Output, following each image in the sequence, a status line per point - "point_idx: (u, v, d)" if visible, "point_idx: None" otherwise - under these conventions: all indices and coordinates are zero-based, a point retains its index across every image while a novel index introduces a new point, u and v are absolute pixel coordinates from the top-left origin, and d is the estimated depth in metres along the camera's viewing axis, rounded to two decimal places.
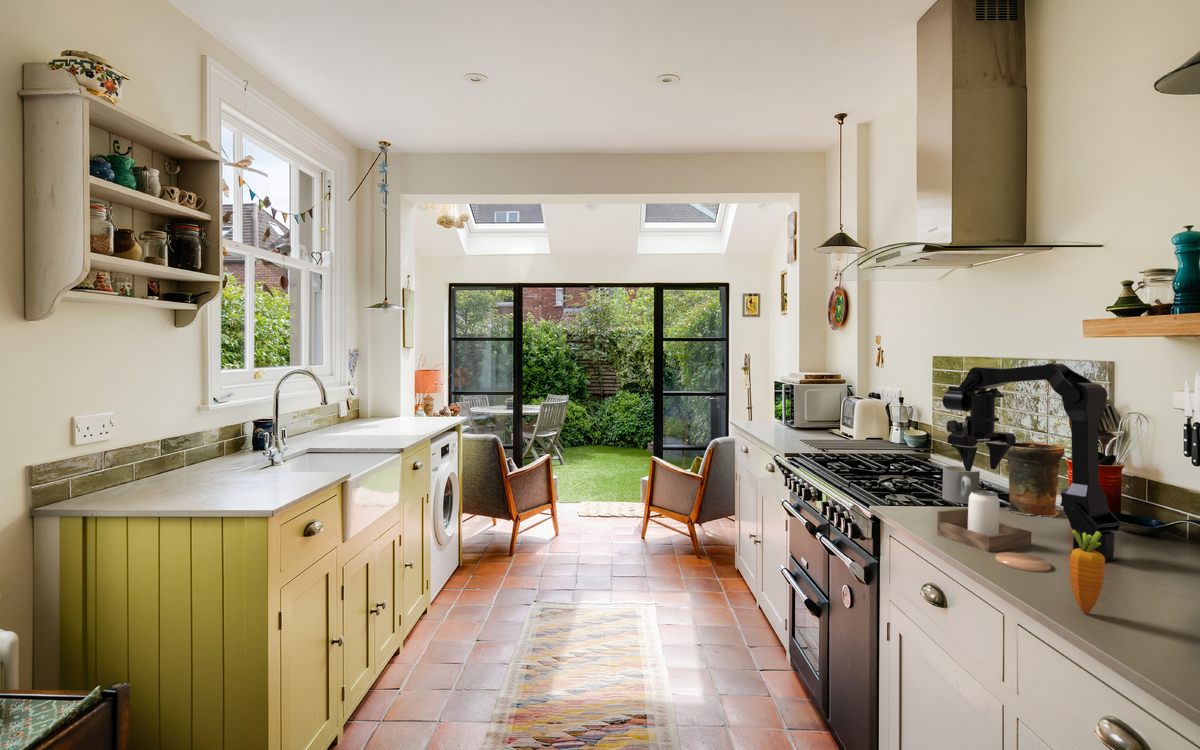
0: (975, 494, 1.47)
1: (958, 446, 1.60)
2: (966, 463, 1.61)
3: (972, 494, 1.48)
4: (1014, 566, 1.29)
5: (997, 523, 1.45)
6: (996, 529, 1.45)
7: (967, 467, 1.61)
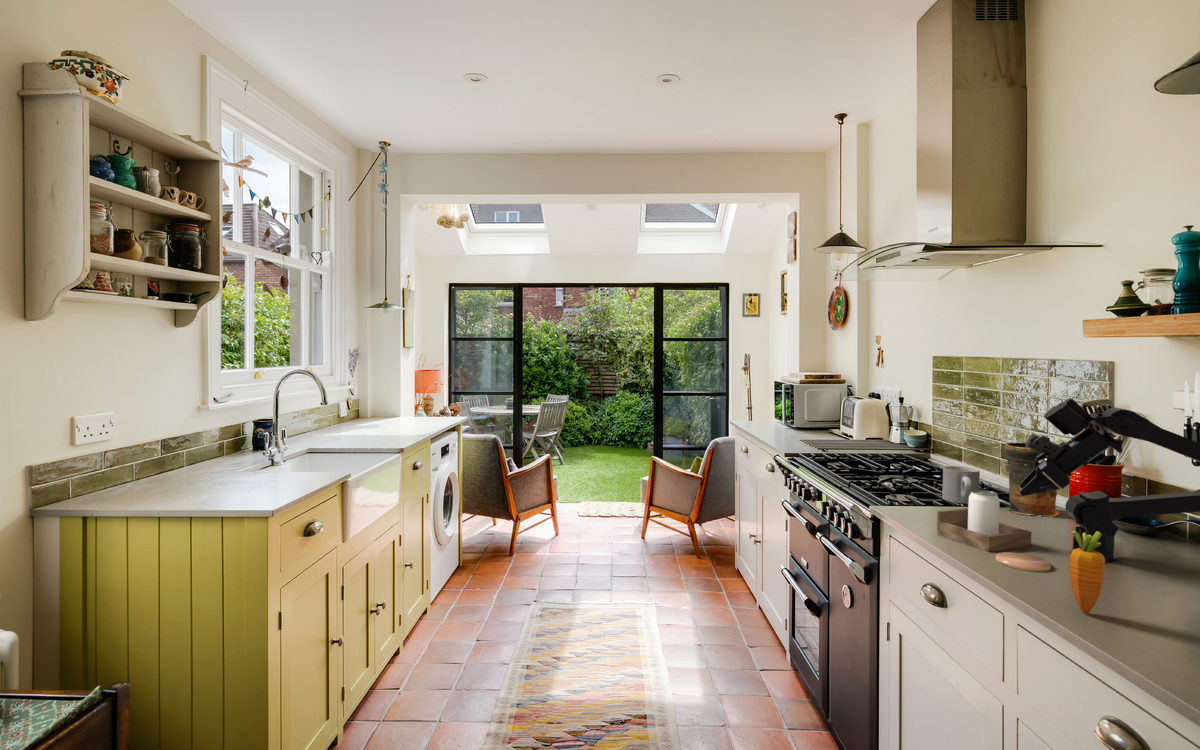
0: (975, 494, 1.47)
1: (1046, 477, 1.34)
2: (1029, 488, 1.38)
3: (972, 494, 1.48)
4: (1014, 566, 1.29)
5: (997, 523, 1.45)
6: (996, 529, 1.45)
7: (1025, 492, 1.39)
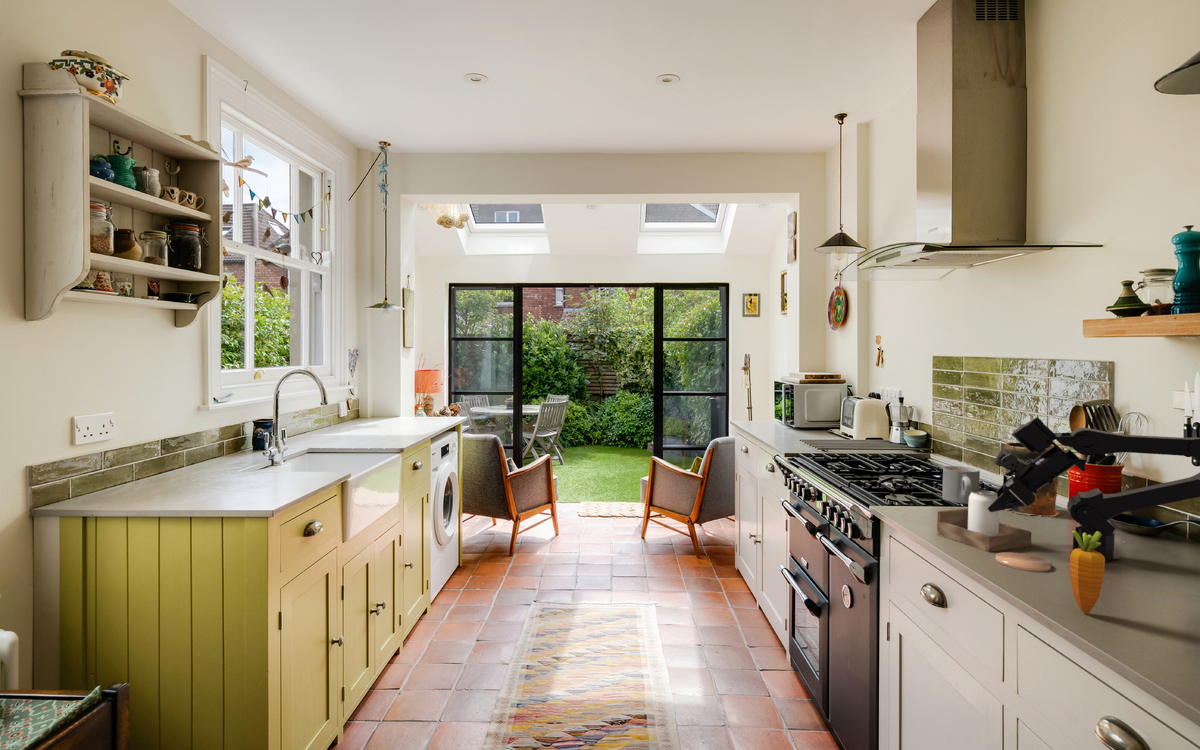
0: (975, 494, 1.47)
1: (1013, 495, 1.38)
2: (996, 505, 1.42)
3: (972, 494, 1.48)
4: (1014, 566, 1.29)
5: (997, 523, 1.45)
6: (996, 529, 1.45)
7: (993, 508, 1.42)
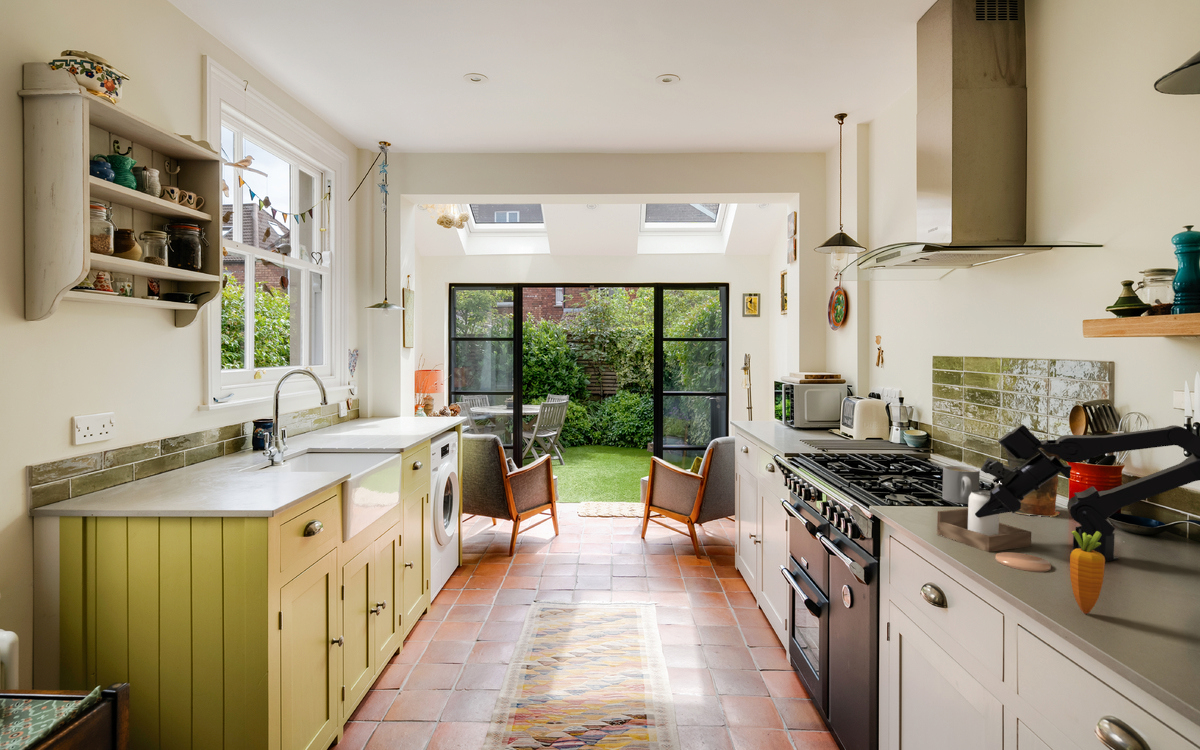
0: (975, 494, 1.47)
1: (999, 501, 1.40)
2: (983, 510, 1.44)
3: (972, 494, 1.48)
4: (1014, 566, 1.29)
5: (997, 523, 1.45)
6: (996, 529, 1.45)
7: (980, 514, 1.45)
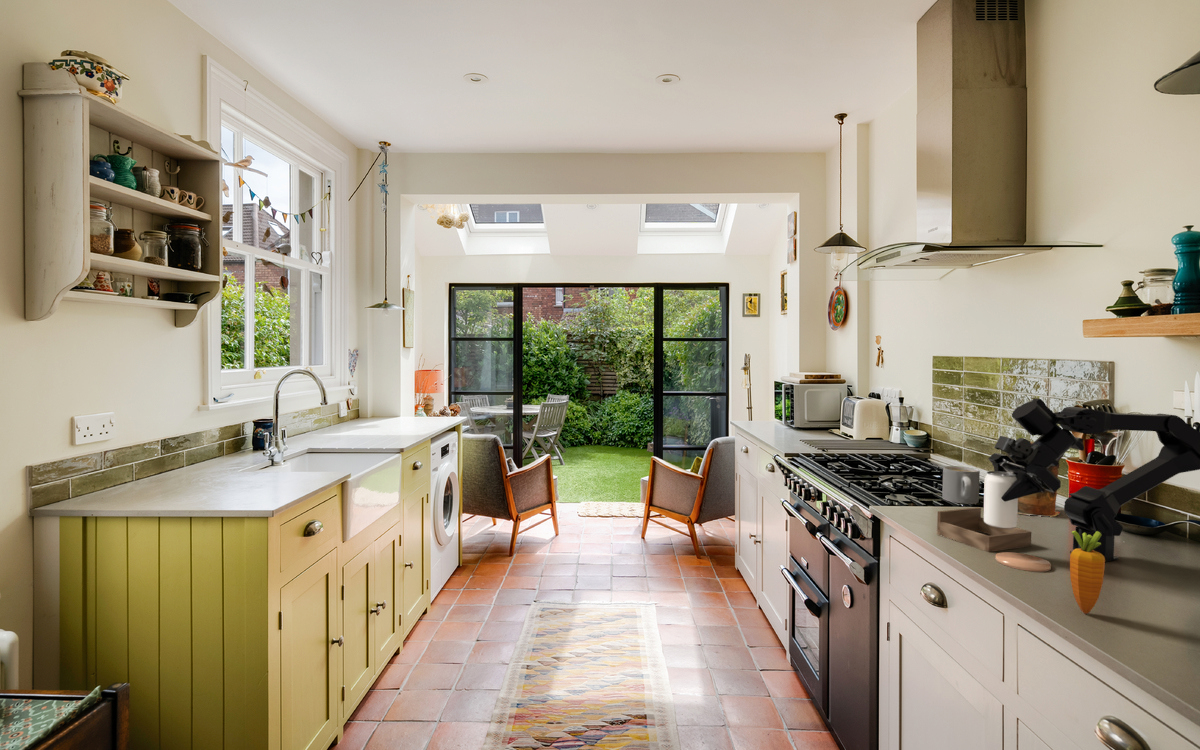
0: (998, 476, 1.36)
1: (1034, 481, 1.30)
2: (1011, 493, 1.34)
3: (993, 477, 1.36)
4: (1014, 566, 1.29)
5: None
6: (1017, 511, 1.36)
7: (1008, 497, 1.34)
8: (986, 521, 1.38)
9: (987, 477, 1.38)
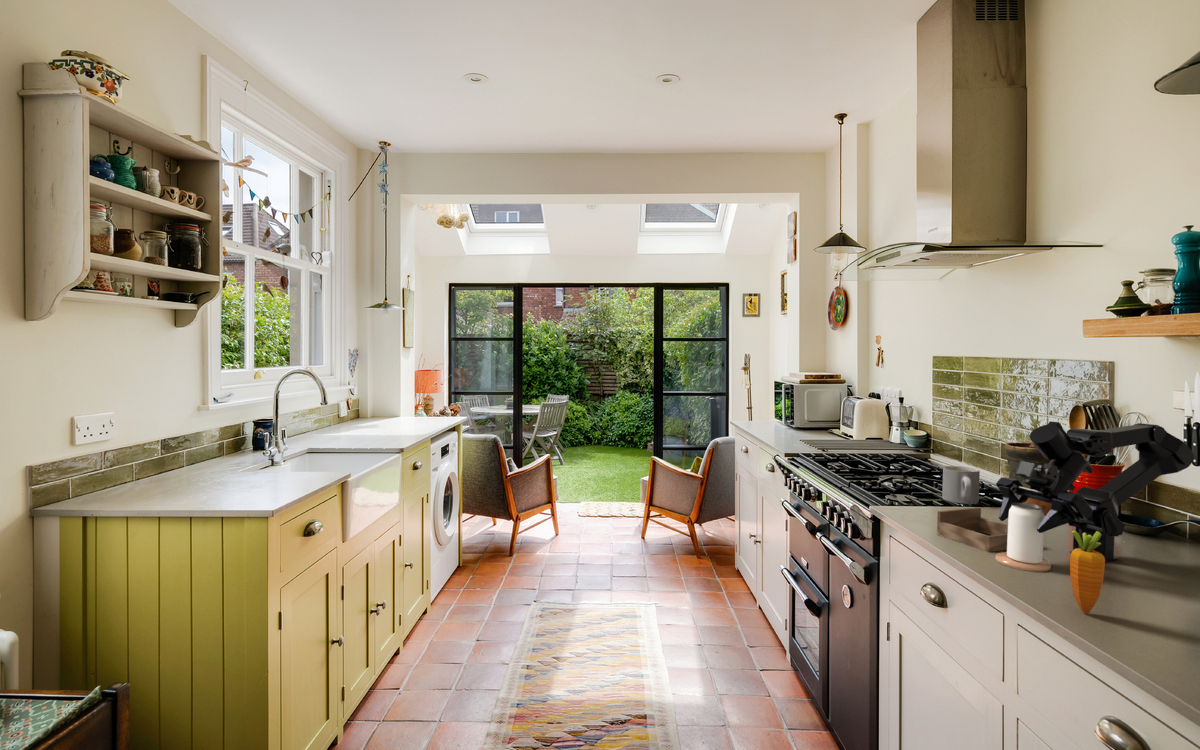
0: (1029, 510, 1.29)
1: (1072, 511, 1.24)
2: (1047, 524, 1.26)
3: (1023, 510, 1.29)
4: (1014, 566, 1.29)
5: None
6: None
7: (1044, 529, 1.26)
8: (1013, 557, 1.31)
9: (1015, 510, 1.31)
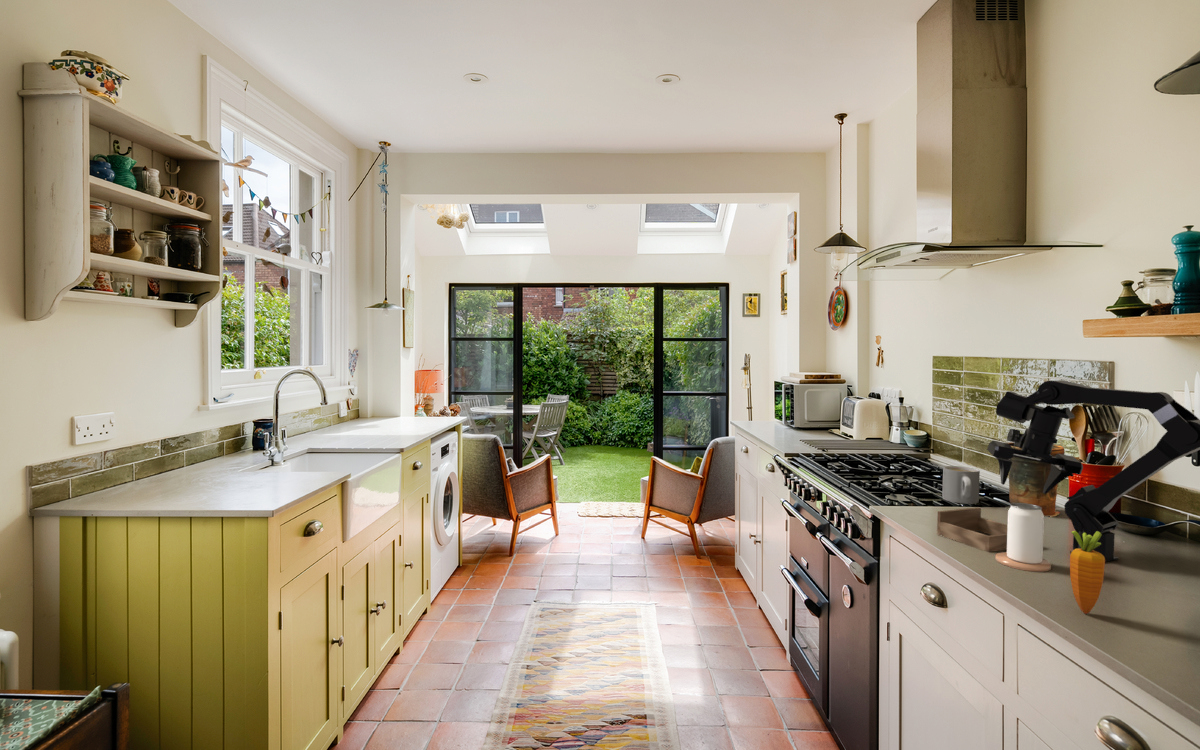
0: (1028, 510, 1.29)
1: None
2: (1001, 475, 1.50)
3: (1022, 510, 1.29)
4: (1014, 566, 1.29)
5: None
6: None
7: (1001, 479, 1.50)
8: (1013, 557, 1.31)
9: (1014, 511, 1.31)
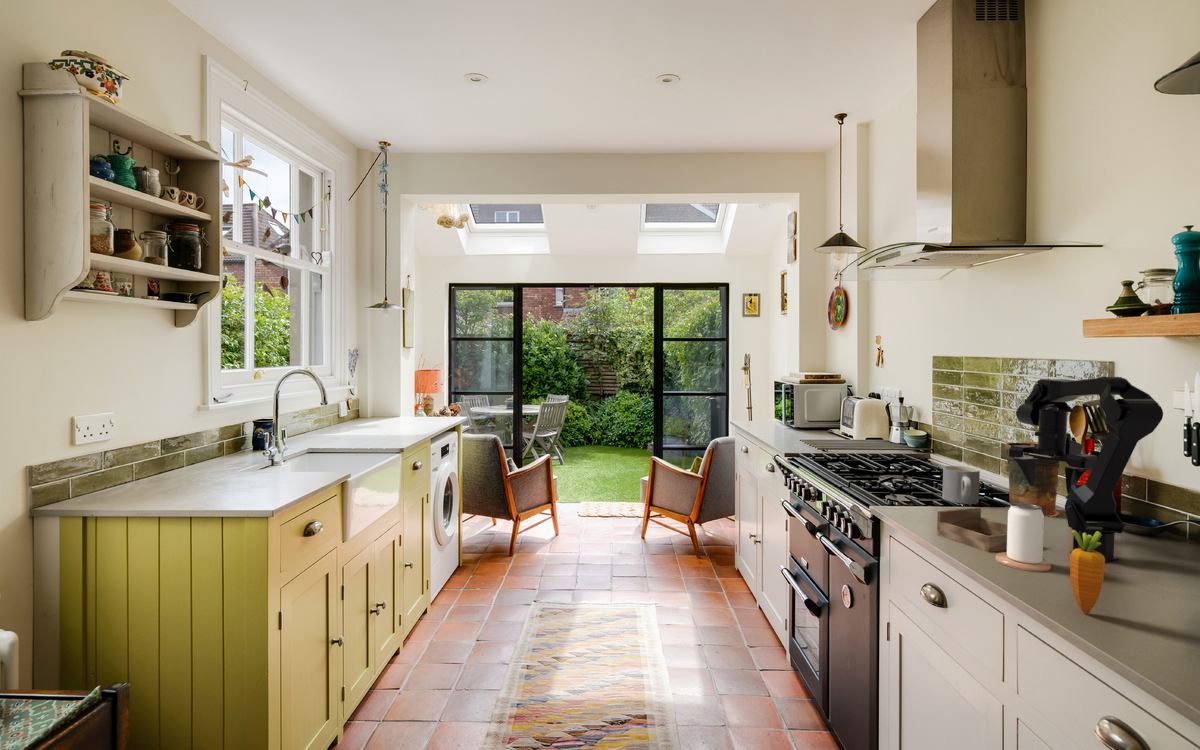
0: (1028, 510, 1.29)
1: None
2: None
3: (1022, 510, 1.29)
4: (1014, 566, 1.29)
5: None
6: None
7: None
8: (1013, 557, 1.31)
9: (1014, 511, 1.31)
